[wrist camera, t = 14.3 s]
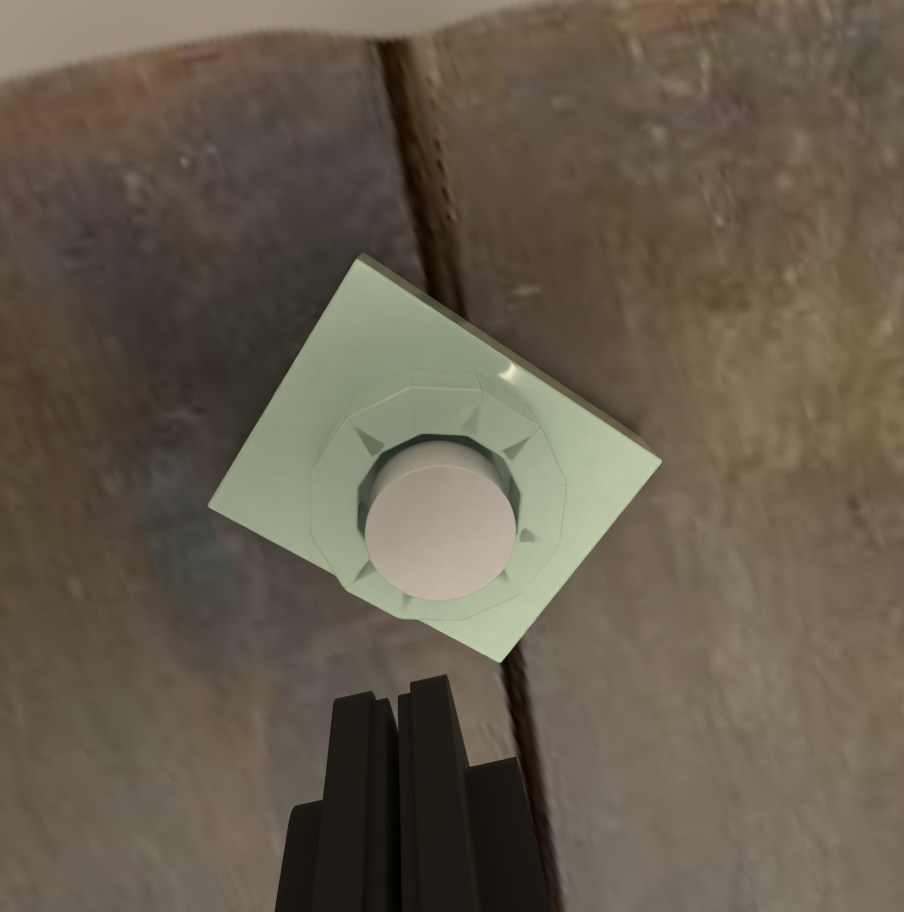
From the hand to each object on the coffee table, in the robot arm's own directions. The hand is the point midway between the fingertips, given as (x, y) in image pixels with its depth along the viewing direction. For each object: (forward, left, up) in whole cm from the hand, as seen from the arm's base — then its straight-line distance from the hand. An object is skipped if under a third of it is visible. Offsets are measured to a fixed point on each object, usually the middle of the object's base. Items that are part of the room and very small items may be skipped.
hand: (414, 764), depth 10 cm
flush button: (0, +1, -9) cm, 9 cm away
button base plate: (0, +1, -12) cm, 12 cm away
